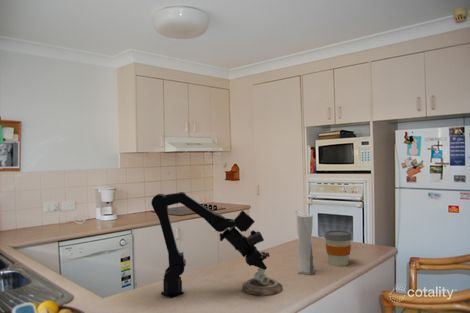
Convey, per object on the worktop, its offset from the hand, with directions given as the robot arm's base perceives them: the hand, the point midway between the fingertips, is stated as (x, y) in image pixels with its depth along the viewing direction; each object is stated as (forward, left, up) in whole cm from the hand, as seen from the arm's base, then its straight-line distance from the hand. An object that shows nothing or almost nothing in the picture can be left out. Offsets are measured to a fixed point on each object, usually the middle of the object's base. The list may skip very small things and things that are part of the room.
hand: (264, 266), depth 152 cm
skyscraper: (+29, +1, -9) cm, 30 cm away
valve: (-1, +1, -7) cm, 7 cm away
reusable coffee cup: (+51, -3, -9) cm, 52 cm away
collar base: (-1, +1, -9) cm, 9 cm away
